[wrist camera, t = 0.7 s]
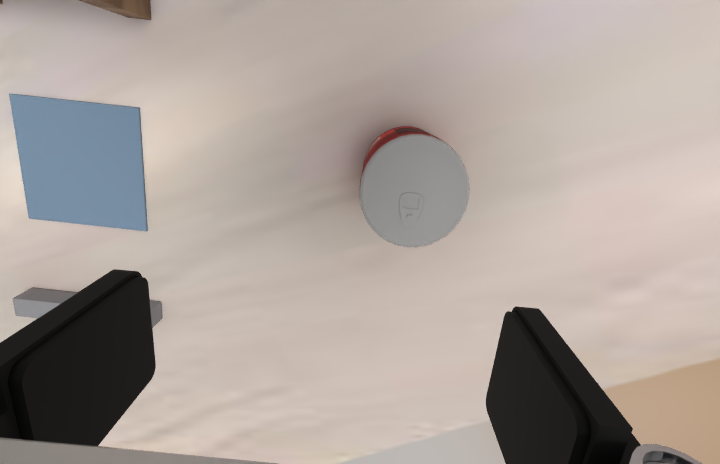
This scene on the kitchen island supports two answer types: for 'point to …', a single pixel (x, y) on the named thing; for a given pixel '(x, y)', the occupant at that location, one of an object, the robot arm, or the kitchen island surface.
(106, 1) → the bridge
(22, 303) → the stopper
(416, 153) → the canned food
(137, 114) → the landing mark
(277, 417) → the kitchen island surface
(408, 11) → the kitchen island surface
